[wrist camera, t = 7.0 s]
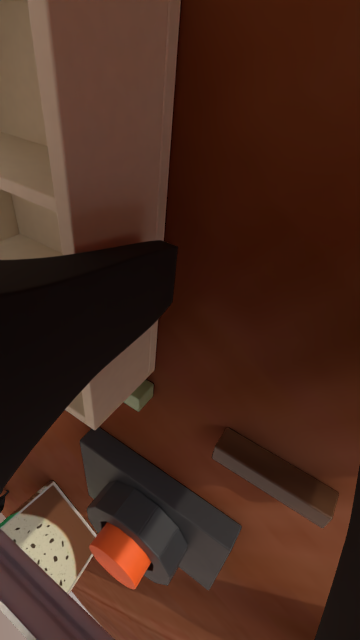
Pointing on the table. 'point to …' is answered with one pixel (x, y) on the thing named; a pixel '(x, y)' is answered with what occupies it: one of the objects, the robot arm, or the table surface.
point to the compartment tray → (87, 145)
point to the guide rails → (264, 470)
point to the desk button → (120, 555)
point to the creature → (2, 500)
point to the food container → (50, 539)
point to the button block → (155, 512)
